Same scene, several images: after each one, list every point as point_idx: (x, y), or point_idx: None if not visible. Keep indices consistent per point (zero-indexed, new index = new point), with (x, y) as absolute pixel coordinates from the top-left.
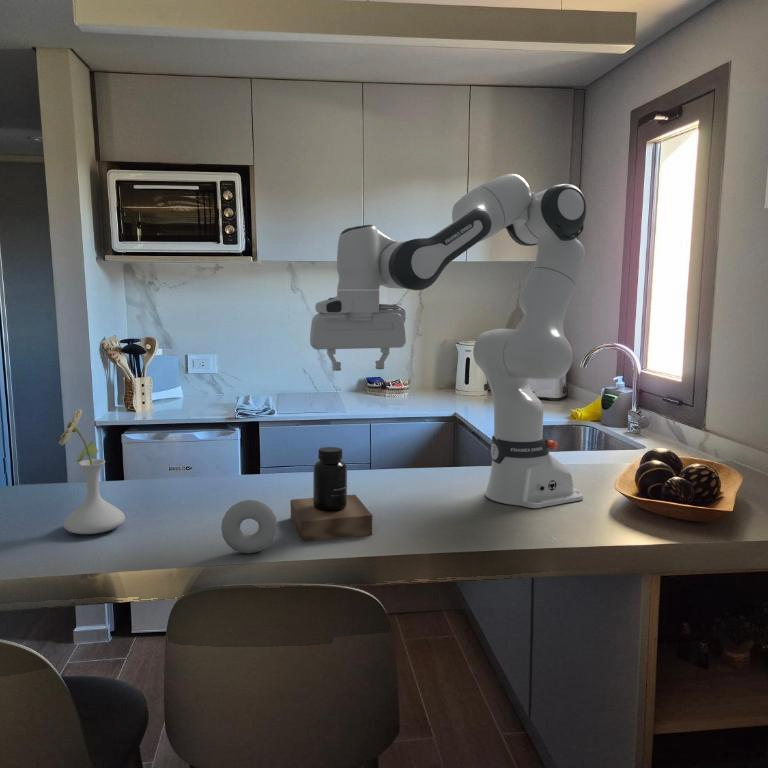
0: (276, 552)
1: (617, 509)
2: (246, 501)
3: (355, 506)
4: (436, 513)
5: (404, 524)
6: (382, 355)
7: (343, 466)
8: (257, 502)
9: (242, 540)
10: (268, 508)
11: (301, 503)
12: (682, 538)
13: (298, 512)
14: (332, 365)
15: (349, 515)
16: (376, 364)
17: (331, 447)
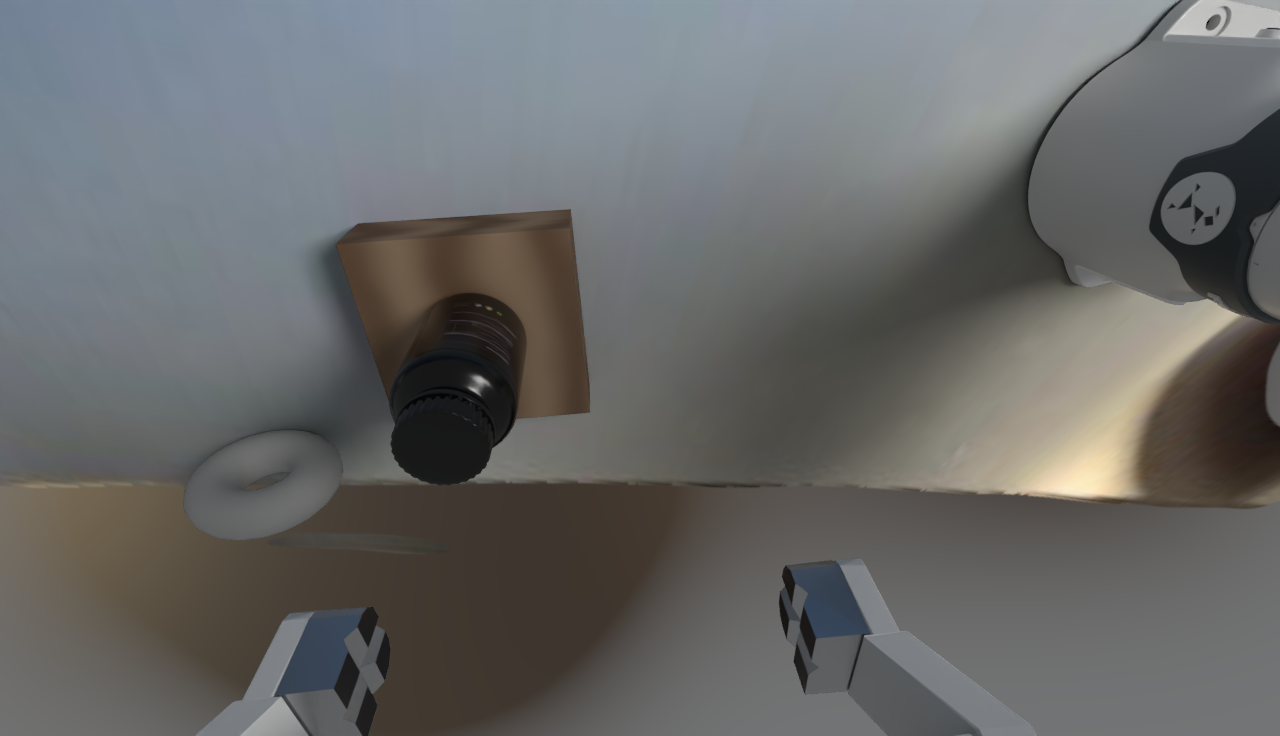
0: (359, 442)
1: (1253, 321)
2: (228, 536)
3: (554, 343)
4: (806, 265)
5: (687, 331)
6: (924, 714)
7: (501, 439)
8: (261, 535)
9: (267, 475)
10: (299, 519)
11: (381, 290)
12: (1170, 482)
13: (381, 365)
14: (266, 654)
15: (528, 406)
16: (802, 615)
17: (444, 422)
